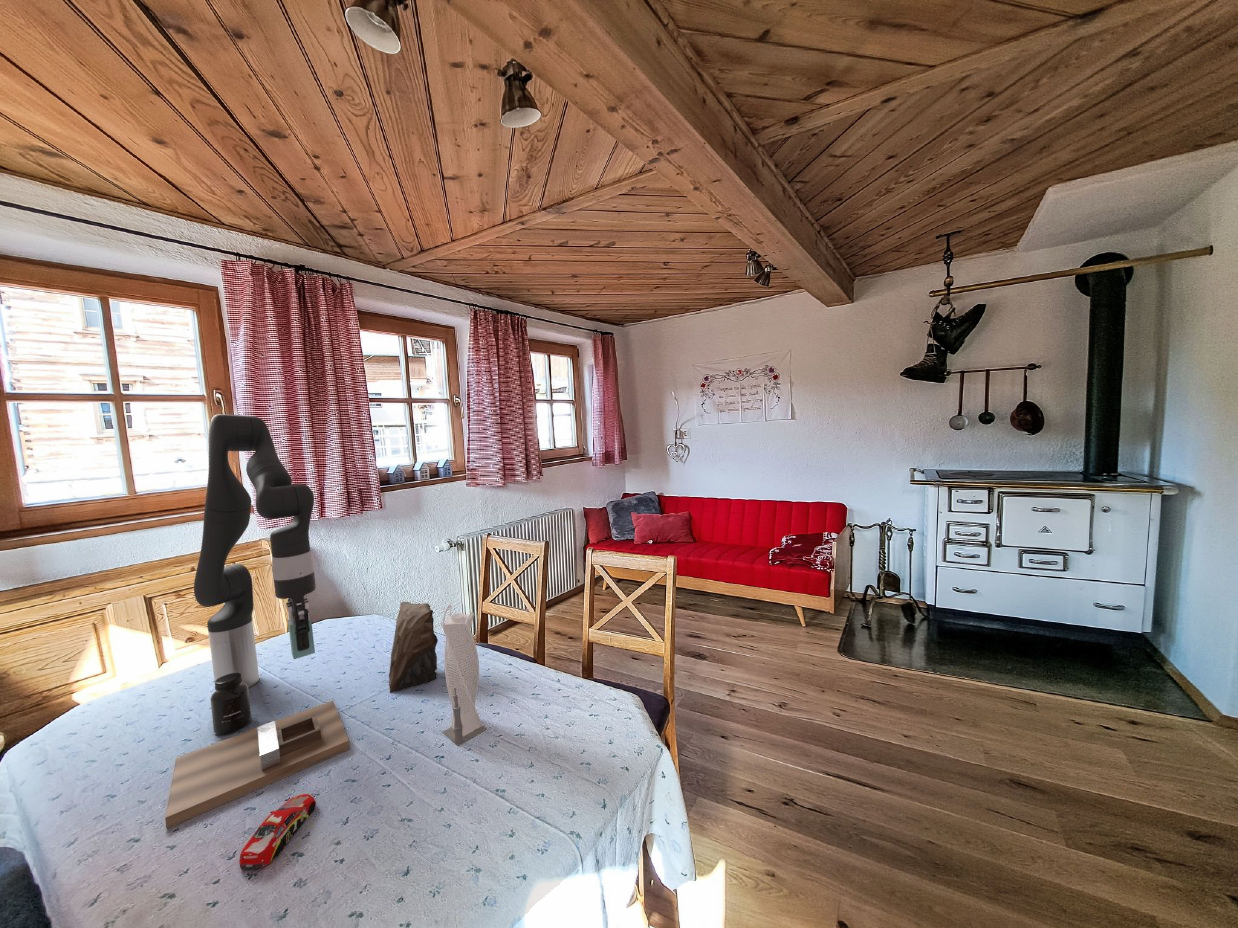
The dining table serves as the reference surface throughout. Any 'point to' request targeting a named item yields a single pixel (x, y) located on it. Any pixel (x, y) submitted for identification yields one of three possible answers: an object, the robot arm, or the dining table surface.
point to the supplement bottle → (230, 704)
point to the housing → (252, 762)
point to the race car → (276, 832)
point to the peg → (293, 641)
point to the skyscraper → (461, 677)
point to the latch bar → (268, 745)
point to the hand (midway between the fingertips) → (302, 645)
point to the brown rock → (413, 648)
